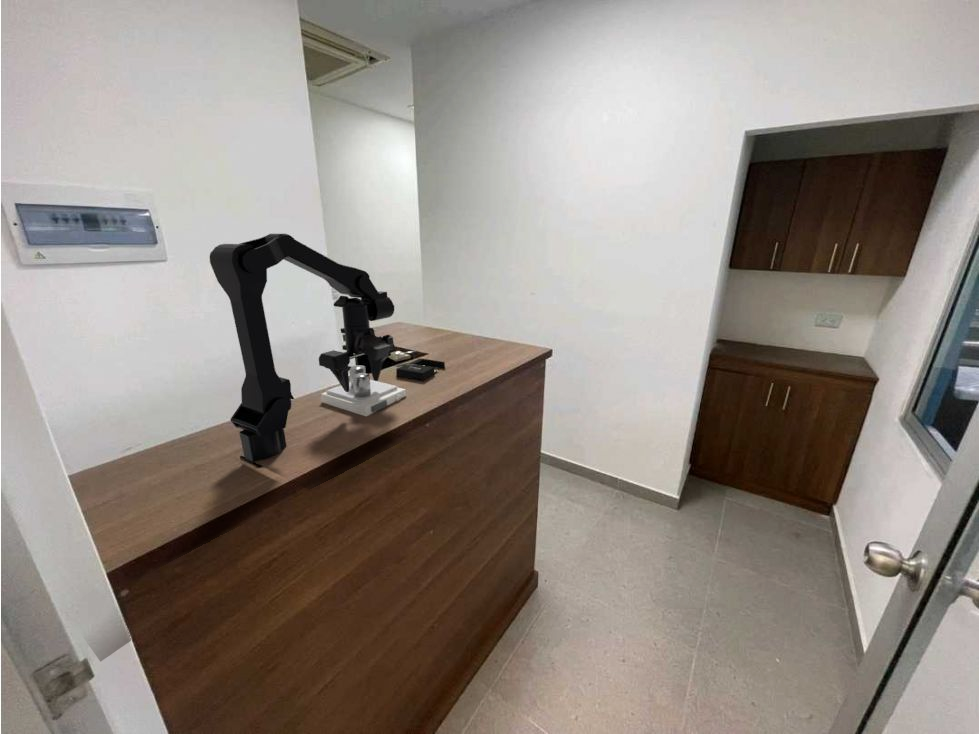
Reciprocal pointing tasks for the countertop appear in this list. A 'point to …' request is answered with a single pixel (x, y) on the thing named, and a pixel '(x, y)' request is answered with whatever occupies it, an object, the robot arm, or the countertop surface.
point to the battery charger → (419, 369)
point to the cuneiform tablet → (400, 355)
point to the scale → (363, 398)
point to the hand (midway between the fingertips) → (362, 386)
